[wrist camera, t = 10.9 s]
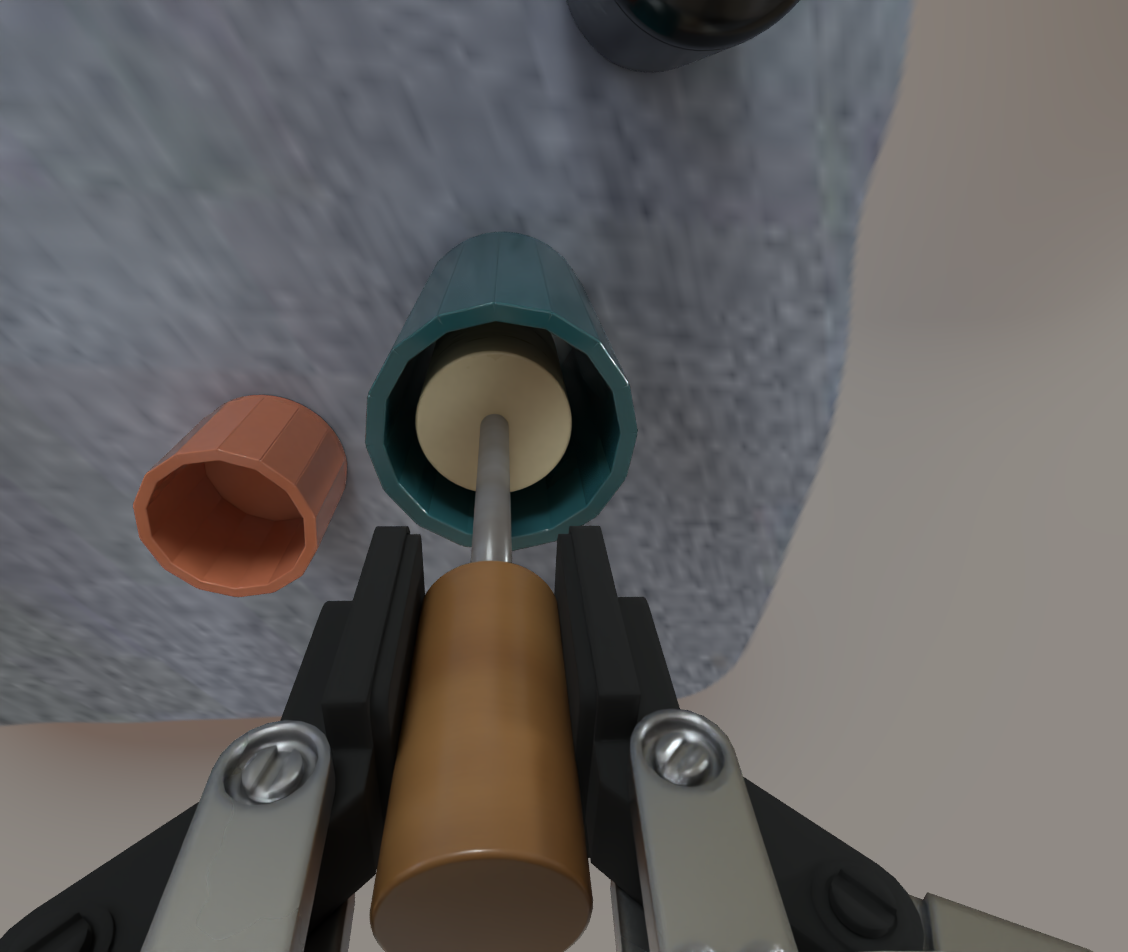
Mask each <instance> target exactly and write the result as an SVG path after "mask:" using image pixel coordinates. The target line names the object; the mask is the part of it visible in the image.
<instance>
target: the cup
mask: <svg viewBox="0 0 1128 952" xmlns="http://www.w3.org/2000/svg"><path fill="white" fill-rule="evenodd" d="M495 321H496V322H502V323H509V324H515V325H521V326H527V327H534V328H540V329H545V330H547V331H549V332H550V333H551V335H552V337H553V339H554V343H555V346H556V350H557V354H558V358H559V363H560V367H561V371H562V375H563V379H564V384H565V388H566V392H567V396H568V400H569V404H570V409H571V415H572V430H571V437H570V440H569V444H568V446H567V449H566V451H565V453H564V455H563V456H562V458H561V460H560V461H559V463H558V464H557V465H556V466H555V467H554V469H553V470H551V471H550V472H549V473H548V474H547V475H546V476H545V477H543V478H542V479H541V480H539V481H538V482H536V483H534V484H532V485H530V486H528V487H526V488H523V489H520V490H517V491H513V492H510V500H511V543H512V551H514V550H519V549H523V548H528V547H532V546H537V545H541V544H546V543H550V542H555V541H557V539H558V534H568V533H569V527H570V526H582V525H584V524H585V523H587V522H589V521H590V520H592V519H593V518H595V517H596V516H597V515H599V513H600V512H601V511H602V509H603V508H604V507H605V506H606V504H607V503H608V502H609V500H610V499H611V498H612V496H613V495H614V494H615V492H616V491H617V490H618V488H619V487H620V486H621V484H622V483H623V482H624V480H625V478H626V477H627V473H628V469H629V465H630V462H631V458H632V454H633V450H634V446H635V442H636V438H637V432H638V429H637V423H636V418H635V412H634V406H633V400H632V395H631V389H630V385H629V383H628V380H627V378H626V376H625V374H624V372H623V370H622V368H621V366H620V363H619V361H618V359H617V357H616V355H615V353H614V351H613V349H612V346H611V344H610V342H609V340H608V338H607V336H606V334H605V332H604V330H603V327H602V325H601V323H600V321H599V319H598V317H597V315H596V313H595V310H594V308H593V306H592V304H591V302H590V300H589V298H588V296H587V293H586V291H585V289H584V287H583V285H582V284H581V282H580V281H579V279H578V278H577V276H576V274H575V273H574V271H573V269H572V268H571V267H570V265H569V264H568V263H567V261H566V260H565V258H563V256H561V255H560V254H559V253H558V252H556V251H555V250H554V249H552V248H551V247H550V246H548V245H547V244H545V243H543V242H541V241H540V240H537V239H535V238H533V237H530V236H527V235H523V234H519V233H513V232H491V233H485V234H481V235H478V236H475V237H472V238H470V239H467V240H465V241H463V242H461V243H460V244H458V245H457V246H455V247H454V248H452V249H451V250H450V251H449V252H448V253H447V254H446V255H445V256H444V257H443V258H441V259H440V260H439V261H438V262H437V264H436V265H435V267H434V269H433V271H432V273H431V275H430V277H429V278H428V280H427V282H426V284H425V286H424V288H423V290H422V292H421V293H420V295H419V297H418V299H417V301H416V303H415V305H414V307H413V309H412V311H411V312H410V314H409V316H408V318H407V320H406V322H405V324H404V326H403V328H402V330H401V332H400V333H399V335H398V337H397V339H396V341H395V343H394V345H393V347H392V349H391V351H390V352H389V354H388V356H387V358H386V360H385V362H384V364H383V366H382V368H381V370H380V372H379V373H378V375H377V377H376V379H375V381H374V383H373V385H372V387H371V389H370V391H369V393H368V396H367V413H366V435H365V444H366V448H367V451H368V453H369V456H370V458H371V461H372V463H373V466H374V468H375V471H376V473H377V476H378V478H379V481H380V483H381V485H382V488H383V489H384V491H385V492H386V493H387V494H388V495H389V496H390V497H391V498H392V499H393V501H394V502H395V503H396V504H397V505H398V506H399V507H400V508H401V509H402V510H403V511H404V512H405V513H406V514H407V515H408V516H409V517H410V518H411V519H412V520H413V521H414V522H415V523H416V524H418V525H419V526H420V527H423V528H425V529H427V530H429V531H431V532H433V533H435V534H437V535H440V536H442V537H444V538H446V539H448V540H450V541H452V542H455V543H457V544H459V545H462V546H465V547H472V537H473V523H474V508H475V494H476V491H473V490H469V489H466V488H464V487H461V486H459V485H457V484H455V483H453V482H452V481H450V480H448V479H447V478H446V477H444V476H443V475H442V474H440V473H439V472H438V471H437V470H436V469H435V468H434V467H433V465H432V464H431V463H430V462H429V461H428V459H427V457H426V456H425V454H424V453H423V451H422V448H421V446H420V444H419V440H418V437H417V433H416V425H415V420H416V409H417V404H418V401H419V398H420V394H421V391H422V388H423V384H424V381H425V377H426V374H427V371H428V367H429V364H430V361H431V357H432V354H433V351H434V347H435V344H436V341H437V340H438V339H439V338H441V337H442V336H443V335H445V334H446V333H448V332H452V331H457V330H461V329H465V328H470V327H474V326H478V325H482V324H487V323H491V322H495Z"/></svg>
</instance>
